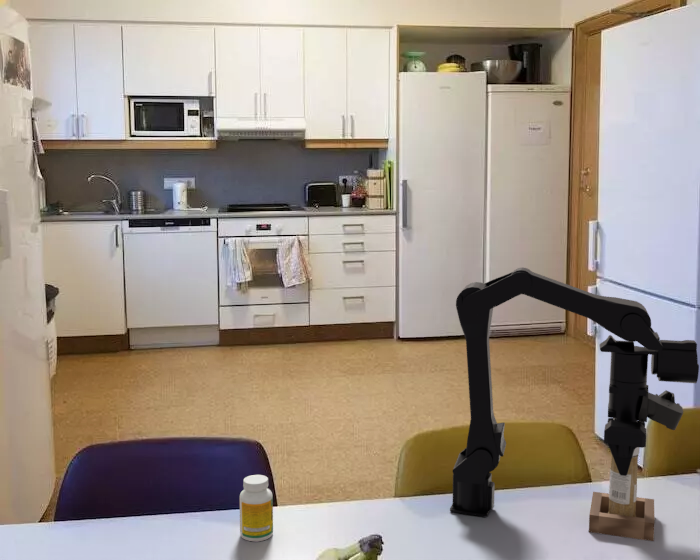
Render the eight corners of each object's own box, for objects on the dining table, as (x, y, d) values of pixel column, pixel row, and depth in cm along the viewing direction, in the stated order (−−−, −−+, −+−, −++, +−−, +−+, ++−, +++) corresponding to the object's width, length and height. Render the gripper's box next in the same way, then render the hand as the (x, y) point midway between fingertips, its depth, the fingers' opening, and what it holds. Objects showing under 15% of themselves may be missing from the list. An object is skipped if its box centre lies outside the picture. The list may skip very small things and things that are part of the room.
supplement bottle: (236, 531, 134) (234, 476, 133) (266, 525, 137) (265, 470, 135) (246, 545, 130) (245, 487, 128) (278, 538, 132) (277, 481, 130)
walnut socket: (588, 532, 134) (589, 514, 133) (592, 507, 143) (593, 491, 142) (653, 541, 130) (654, 523, 130) (653, 516, 140) (654, 499, 139)
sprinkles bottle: (641, 519, 136) (645, 442, 134) (623, 526, 133) (627, 447, 131) (619, 509, 140) (622, 434, 138) (601, 516, 137) (604, 439, 135)
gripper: (683, 398, 122) (677, 498, 124) (679, 369, 139) (674, 457, 141) (605, 391, 125) (601, 488, 128) (610, 364, 143) (606, 449, 145)
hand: (623, 470), depth 135 cm, fingers open, 4 cm apart
